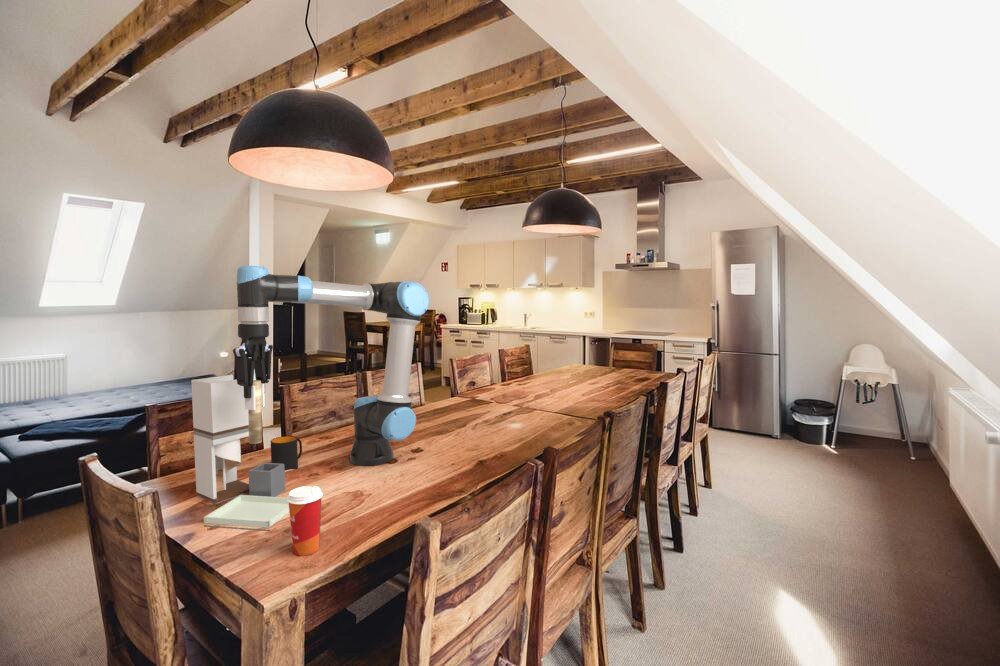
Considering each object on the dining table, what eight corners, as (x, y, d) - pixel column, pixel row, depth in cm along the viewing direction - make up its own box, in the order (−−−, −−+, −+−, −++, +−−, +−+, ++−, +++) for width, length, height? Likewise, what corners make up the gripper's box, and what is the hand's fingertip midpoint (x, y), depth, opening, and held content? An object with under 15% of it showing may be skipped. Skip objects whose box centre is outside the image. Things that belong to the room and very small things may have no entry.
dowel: (264, 440, 132) (263, 380, 131) (256, 444, 129) (255, 382, 128) (254, 440, 133) (253, 380, 132) (246, 443, 130) (245, 381, 129)
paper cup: (295, 542, 114) (293, 485, 113) (328, 540, 114) (326, 484, 113) (283, 559, 106) (281, 499, 105) (318, 558, 107) (316, 497, 106)
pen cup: (285, 493, 142) (284, 463, 142) (271, 502, 136) (270, 472, 135) (264, 491, 143) (263, 462, 143) (249, 501, 137) (248, 470, 136)
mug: (311, 463, 168) (310, 434, 168) (284, 474, 157) (283, 444, 156) (292, 460, 171) (292, 432, 171) (265, 471, 160) (264, 441, 159)
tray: (299, 507, 133) (299, 498, 133) (269, 531, 119) (268, 521, 119) (240, 503, 135) (240, 494, 135) (203, 526, 121) (203, 517, 121)
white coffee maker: (216, 507, 133) (210, 383, 130) (196, 498, 138) (191, 380, 136) (255, 493, 142) (251, 377, 140) (235, 485, 148) (231, 374, 145)
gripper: (260, 321, 138) (261, 401, 139) (219, 323, 122) (221, 414, 123) (284, 322, 136) (285, 402, 138) (245, 324, 121) (247, 415, 122)
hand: (254, 407), depth 130 cm, fingers closed on dowel, 3 cm apart
